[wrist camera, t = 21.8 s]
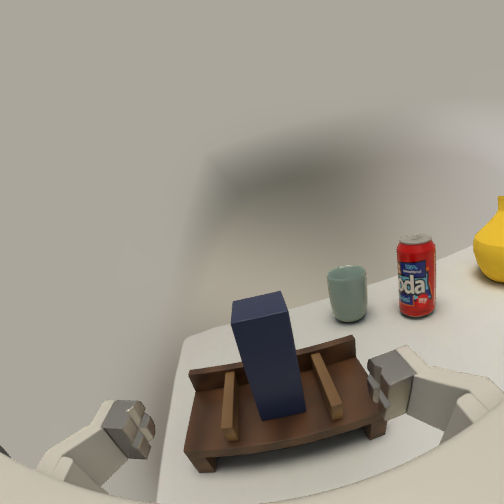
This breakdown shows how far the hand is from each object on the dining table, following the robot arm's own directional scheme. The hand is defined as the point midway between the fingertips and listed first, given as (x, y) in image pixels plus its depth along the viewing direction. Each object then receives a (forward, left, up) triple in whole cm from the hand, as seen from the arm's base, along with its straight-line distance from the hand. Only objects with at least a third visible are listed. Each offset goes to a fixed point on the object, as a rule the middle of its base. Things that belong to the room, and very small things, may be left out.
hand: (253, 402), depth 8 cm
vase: (+59, +33, -22) cm, 71 cm away
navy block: (0, +16, -17) cm, 23 cm away
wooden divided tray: (0, +17, -22) cm, 27 cm away
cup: (+17, +41, -22) cm, 49 cm away
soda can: (+30, +35, -22) cm, 51 cm away
